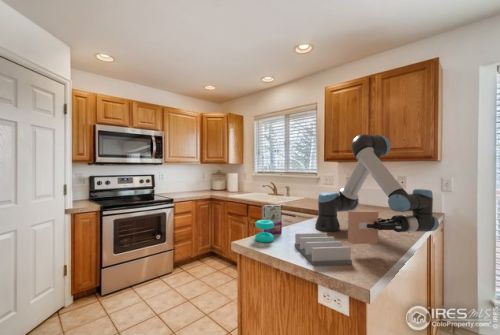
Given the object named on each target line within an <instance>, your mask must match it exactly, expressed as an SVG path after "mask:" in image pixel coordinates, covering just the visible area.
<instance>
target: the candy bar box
mask: <svg viewBox="0 0 500 335" xmlns="http://www.w3.org/2000/svg"><path fill="white" fill-rule="evenodd" d="M282 208H283V207H282V205H281V204H265V205H264V204H263V205H261V220H269V221H272V222H273V223H274V226H273V228H271V229H261V232H268V233H271V234H272V235H274V234H282V233H283V231H282V229H283V228H282V225H283V221H282V219H283V216H282V214H283V212H282Z"/></svg>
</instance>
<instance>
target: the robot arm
mask: <svg viewBox="0 0 500 335" xmlns="http://www.w3.org/2000/svg"><path fill="white" fill-rule="evenodd" d="M350 149H351V153H352V155H353V156H354V158H355V159H356V160H357V162H356V163H355V166H354V168H353V170H352V171H351V173H350V176H349V177H348V180H347V181H346V183H345V185H344V187H342V188H340V190H339V192H336V191H323V192H321V193H319V194H318V196H317V197H318V199H317V201H318V202H317V203H318V204H317V205H318V206H317V208H318V210H317V212H318V213H317V218H316V221H315V224H314V225H315V226H314V227H315V229H316V230H319V231H320V232H321V231H323V232H331V233H332V232H340V230H341V225H340V222H339V219H338V212H340V213H341V212H348V210H356V209H357V208H358V207H359V204H360V202H359V201H360V200H359V191H360V190H361V188H362V187H363V184H364V183H365V181H366V179H367V178H368V175H369V174H370V175H371V177H372V178H373V179H374V180H375V181H376V183H377V185H378V186H379V187H380V190H382V191H383V192H384V194H385V195H386V197H387V198H388V199H387V203H388V207H389V209H390V210H392V211H393V212H401V213H404V212H412V214H402V215H401V214H397V215H396V214H395V215H392V216H391V218H382V217H378V223H377V222H376V221H374V224H373V222H359V229H373V228H374V229H378V231H394V232H396V233H407V234H410V233H412V232H413V233H414V232H415V233H416V232H424V233H425V232H426V233H429V232H434V231H436V230H438V228H439V226H440V221H439V219H438V217H436V216H435V215H433V214H434V213H433V209H434V207H433V206H434V198H433V191H432V190H431V189H424V188H420V189H416V188H415V189H413V190H412V193H408V192H407V191H406V190H405V189H404V187H403V186H402V185H401V184H400V183H399V181H397V179H396V178H395V177H394V175H393V174H392V173H391V172H390V170H389V169H388V168H387V167H386V166H385V164H383V161H381V160H380V159H381V158H382V157H384V156H386V155H388V154H389V152H390V150H391V144H390V140H389V139H388V137H386V136H383V135H380V134H377V135H376V134H366V133H364V134H363V133H362V134H359V135H356V137H354V138H353V139H352V142H351V145H350Z"/></svg>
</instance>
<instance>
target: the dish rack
mask: <svg viewBox="0 0 500 335" xmlns="http://www.w3.org/2000/svg"><path fill="white" fill-rule="evenodd" d="M294 235H295V236H294V241H295V242H294V247H295V248H296V249H297V250H298V251H299V252H300V253H301V255H303V256H304V257H305V258H306V260H308V261H309V263H310V264H311V265H313V267H318V266H340V265H341V266H343V265H345V266H346V265H353V260H352V259H351V258H352V256H351V254H352V253H351V249H352V247H351V246H349V245H348V246H343V242H342V241H341V240H339V241H337V240H335V236H328V233H327V232H305V233H304V232H301V233H296V232H295V234H294Z"/></svg>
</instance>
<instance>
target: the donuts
mask: <svg viewBox="0 0 500 335" xmlns="http://www.w3.org/2000/svg"><path fill="white" fill-rule="evenodd" d="M254 224H255V227H256V228H257V229H260V230H262V229H271V228H273V226H274V223H273V222H272V221H269V220H262V219H259V220H257V221H256V222H254ZM254 238H255V240H256V241H257V242H259V243H271V242H273V241H274V238H275V235H274V234H271V233H268V232H262V231H260V232H257V234H255V236H254Z"/></svg>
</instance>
